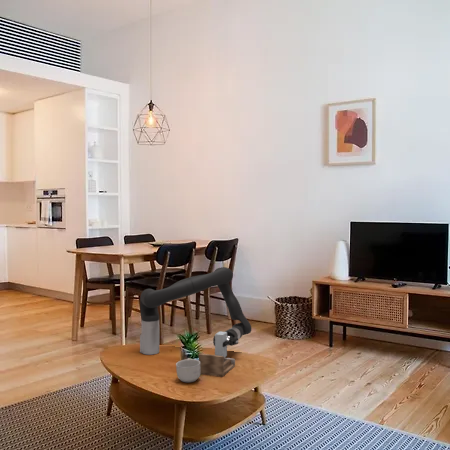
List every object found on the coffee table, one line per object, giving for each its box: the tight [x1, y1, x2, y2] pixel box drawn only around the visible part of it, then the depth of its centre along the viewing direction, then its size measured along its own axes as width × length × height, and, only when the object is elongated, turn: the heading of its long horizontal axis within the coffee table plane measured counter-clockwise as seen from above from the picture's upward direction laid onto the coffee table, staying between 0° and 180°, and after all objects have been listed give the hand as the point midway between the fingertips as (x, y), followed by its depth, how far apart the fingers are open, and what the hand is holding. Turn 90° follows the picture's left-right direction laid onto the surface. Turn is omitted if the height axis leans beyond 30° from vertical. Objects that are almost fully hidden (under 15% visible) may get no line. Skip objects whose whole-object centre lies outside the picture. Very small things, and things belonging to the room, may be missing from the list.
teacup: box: [175, 357, 201, 383], centre depth 219 cm, size 14×11×8 cm
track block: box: [198, 353, 236, 378], centre depth 231 cm, size 12×16×9 cm
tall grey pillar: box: [214, 331, 228, 358], centre depth 244 cm, size 4×6×12 cm, turn 158°
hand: (219, 344), depth 241 cm, fingers closed on tall grey pillar, 4 cm apart
